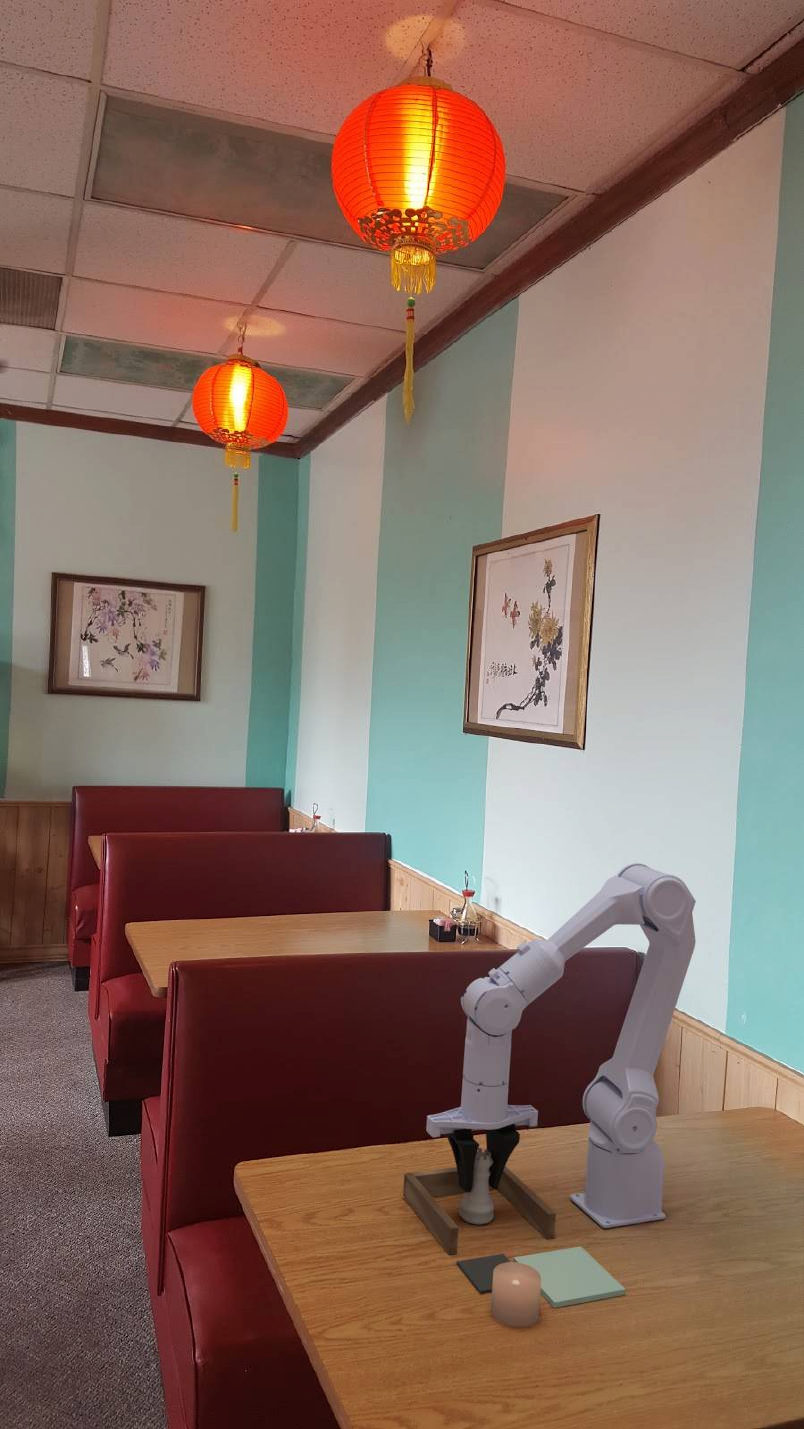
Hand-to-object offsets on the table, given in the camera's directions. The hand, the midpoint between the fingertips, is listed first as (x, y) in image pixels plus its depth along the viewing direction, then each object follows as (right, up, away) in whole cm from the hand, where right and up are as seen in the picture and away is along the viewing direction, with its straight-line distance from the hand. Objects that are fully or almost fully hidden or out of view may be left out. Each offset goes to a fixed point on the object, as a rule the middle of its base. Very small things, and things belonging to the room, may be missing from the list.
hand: (478, 1186), depth 125 cm
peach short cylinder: (+2, -4, -20) cm, 20 cm away
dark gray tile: (+1, -4, -13) cm, 13 cm away
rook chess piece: (0, -4, 0) cm, 4 cm away
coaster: (+9, -4, -12) cm, 16 cm away
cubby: (0, -4, 0) cm, 4 cm away
